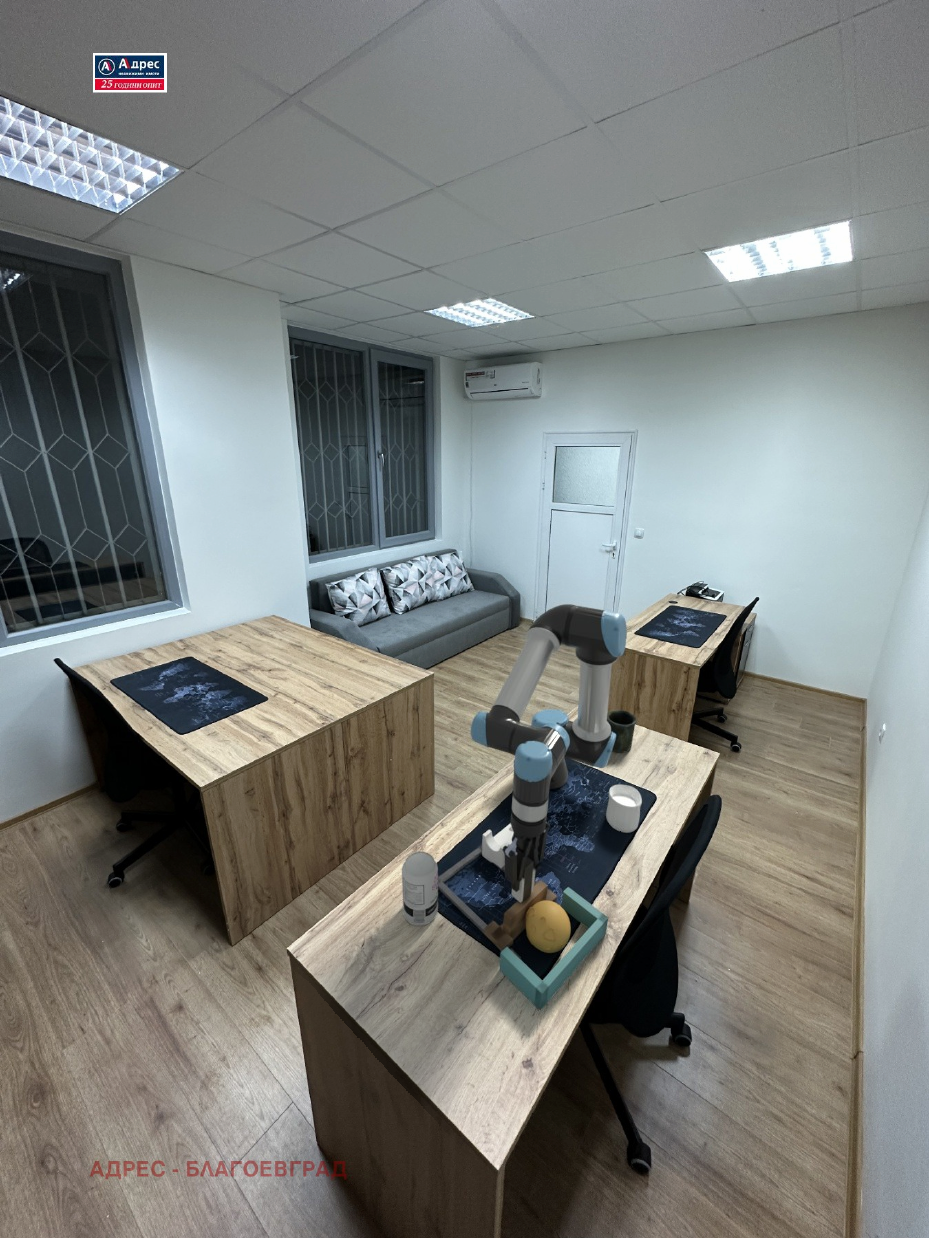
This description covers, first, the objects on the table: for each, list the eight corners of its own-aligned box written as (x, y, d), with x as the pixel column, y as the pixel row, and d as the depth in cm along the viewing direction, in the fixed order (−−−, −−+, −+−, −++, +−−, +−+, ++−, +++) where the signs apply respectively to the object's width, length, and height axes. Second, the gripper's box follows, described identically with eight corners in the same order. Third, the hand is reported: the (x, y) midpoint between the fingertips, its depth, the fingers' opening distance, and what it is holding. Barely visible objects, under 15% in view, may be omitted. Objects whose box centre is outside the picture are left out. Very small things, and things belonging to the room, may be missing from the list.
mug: (597, 746, 182) (601, 718, 178) (612, 729, 193) (616, 702, 188) (626, 757, 175) (630, 728, 171) (639, 739, 186) (644, 712, 182)
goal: (566, 902, 120) (568, 886, 118) (605, 933, 112) (608, 917, 110) (499, 969, 104) (500, 952, 102) (540, 1010, 97) (542, 993, 95)
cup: (623, 806, 152) (627, 780, 148) (646, 828, 143) (651, 801, 140) (598, 814, 148) (602, 788, 145) (620, 837, 140) (624, 810, 136)
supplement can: (399, 903, 118) (397, 855, 113) (431, 892, 122) (430, 845, 116) (409, 932, 111) (407, 883, 106) (442, 920, 115) (442, 871, 109)
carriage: (536, 888, 123) (541, 833, 117) (556, 904, 119) (562, 847, 113) (483, 936, 110) (486, 878, 105) (503, 956, 106) (507, 896, 100)
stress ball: (556, 924, 115) (525, 894, 115) (584, 917, 109) (553, 885, 109) (542, 966, 107) (509, 934, 107) (572, 961, 101) (538, 927, 101)
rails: (481, 847, 135) (481, 844, 135) (565, 915, 116) (565, 912, 116) (433, 883, 124) (433, 880, 124) (516, 965, 105) (516, 962, 104)
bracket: (501, 871, 128) (503, 849, 126) (481, 856, 133) (482, 834, 130) (531, 844, 137) (533, 823, 135) (511, 831, 142) (513, 810, 139)
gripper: (539, 785, 112) (532, 863, 120) (489, 819, 101) (486, 902, 109) (566, 802, 106) (557, 883, 115) (517, 840, 96) (510, 926, 104)
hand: (522, 892), depth 112 cm, fingers closed on carriage, 3 cm apart
